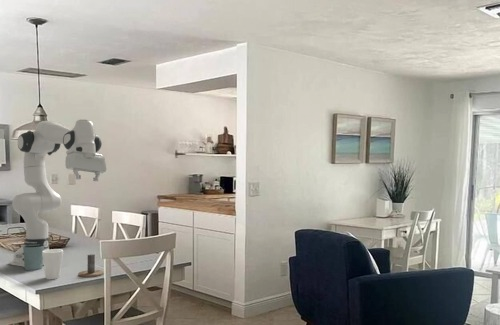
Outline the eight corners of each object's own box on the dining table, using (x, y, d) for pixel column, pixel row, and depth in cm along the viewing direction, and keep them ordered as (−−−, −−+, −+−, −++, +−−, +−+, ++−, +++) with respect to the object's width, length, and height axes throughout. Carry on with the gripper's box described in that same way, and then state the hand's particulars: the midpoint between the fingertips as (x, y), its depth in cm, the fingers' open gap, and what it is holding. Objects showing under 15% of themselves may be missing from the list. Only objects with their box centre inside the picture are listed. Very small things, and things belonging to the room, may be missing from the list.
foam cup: (46, 275, 239) (46, 249, 239) (65, 275, 240) (65, 248, 240) (39, 280, 230) (39, 252, 230) (59, 279, 230) (59, 252, 230)
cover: (73, 276, 238) (73, 256, 238) (88, 271, 250) (88, 251, 249) (93, 278, 234) (93, 257, 234) (108, 273, 245) (108, 253, 245)
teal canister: (19, 270, 250) (19, 247, 249) (30, 266, 260) (30, 243, 260) (37, 271, 248) (37, 247, 248) (48, 266, 258) (48, 244, 258)
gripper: (100, 156, 240) (101, 183, 237) (62, 150, 224) (63, 179, 220) (108, 153, 237) (109, 180, 233) (70, 146, 220) (72, 176, 217)
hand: (87, 180), depth 227 cm, fingers open, 8 cm apart
